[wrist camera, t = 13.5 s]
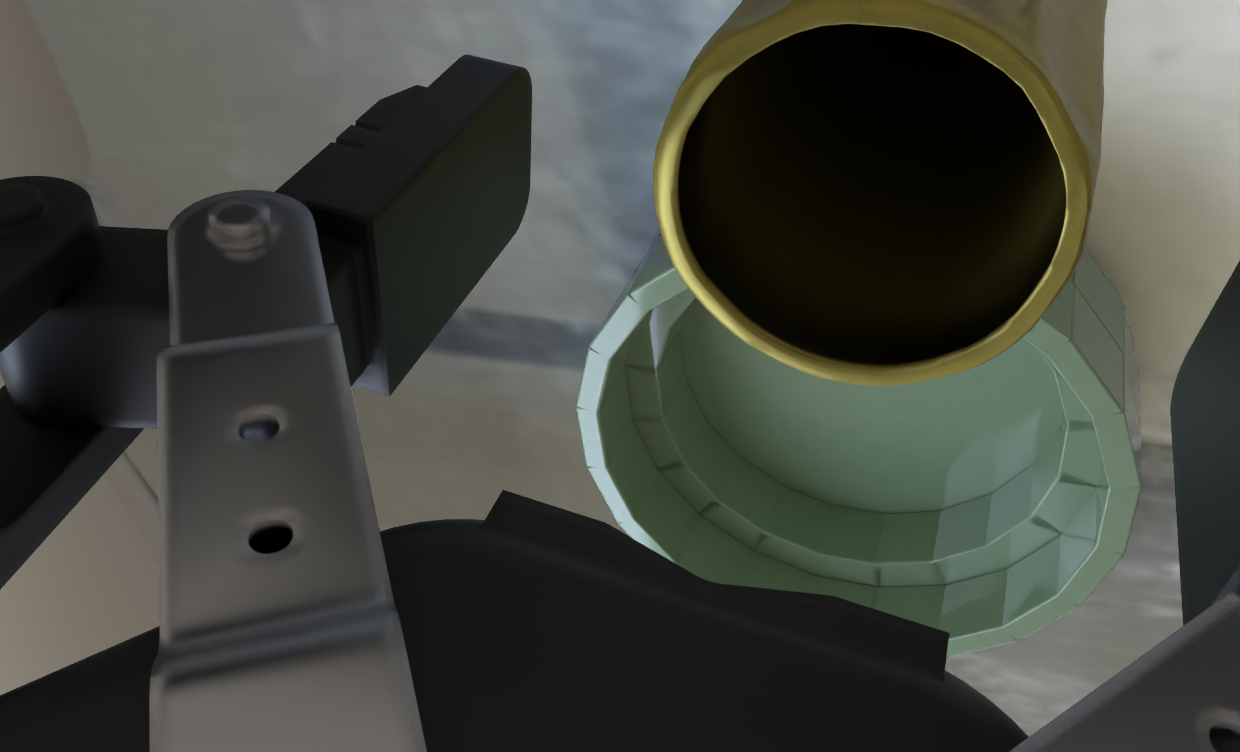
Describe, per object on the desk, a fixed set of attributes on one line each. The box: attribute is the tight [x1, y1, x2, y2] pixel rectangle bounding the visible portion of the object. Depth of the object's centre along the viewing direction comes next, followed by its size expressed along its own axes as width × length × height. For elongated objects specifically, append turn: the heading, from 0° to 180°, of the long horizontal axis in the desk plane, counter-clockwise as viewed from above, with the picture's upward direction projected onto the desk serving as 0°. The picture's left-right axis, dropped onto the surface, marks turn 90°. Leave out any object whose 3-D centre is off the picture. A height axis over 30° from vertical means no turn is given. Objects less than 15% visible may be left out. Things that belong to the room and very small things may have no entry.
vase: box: [653, 0, 1107, 386], centre depth 18 cm, size 6×6×14 cm
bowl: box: [576, 234, 1141, 657], centre depth 30 cm, size 14×14×5 cm
